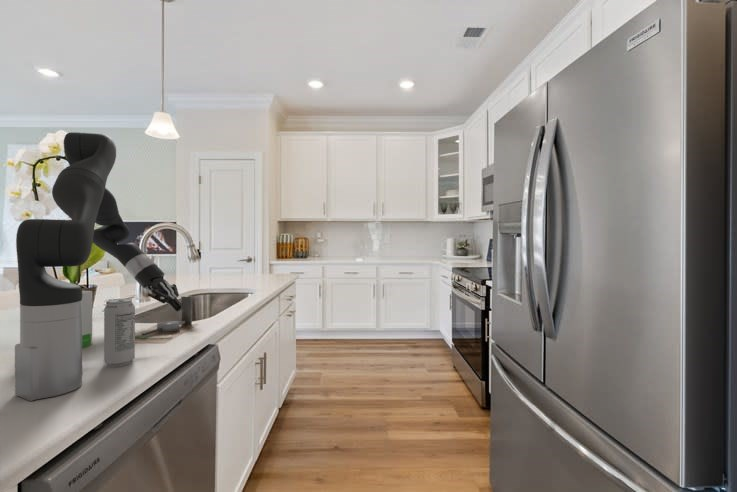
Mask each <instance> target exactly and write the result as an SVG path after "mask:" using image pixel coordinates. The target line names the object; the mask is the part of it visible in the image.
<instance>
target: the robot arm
mask: <svg viewBox="0 0 737 492" xmlns="http://www.w3.org/2000/svg"><path fill="white" fill-rule="evenodd" d="M63 151H64V154H65V158H66V160H67V163H68V165H67V166H66V167H65V168H63V169H62V170H61V171H60V172H59V174H58V175H57V177H56V180H55V181H54V184H53V186H52V188H51V195H52V198H53V201H54V202H55V204H56V206H57V207H58V208H59V209H60V210H61V211H62V212H63V213H64V214H65V215H66V216H67V217H68V218H70V219H47V218H45V219H43V218H42V219H41V218H30V219H29V218H28V219H25V220H23V221H22V222H21V223H20V224H19V225H18V227H17V230H16V240H15V245H16V246H15V247H16V248H15V249H16V259H17V260H16V261H17V272H18V273H17V274H18V290H19V343H17V344H15V345H14V395H15V396H18V397H20V398H23V399H26V400H27V401H29V402H30V401H31V402H32V401H36V400H39V399H46V398H51V397H57V396H60V395H64V394H66V393H70V392H73V391H74V390H77V389H78V388H80V387H81V386H82V385H83V375H84V374H83V347H82V291H83V289H82V287H81V286H80V285H78V284H75V283H71V282H68V281H63V280H60V279H58V278H56V277H54V276H52V275H50V274H49V273H48V272H47V270H46V268H63V267H64V268H65V267H66V268H67V267H70V268H71V267H78V266H82V265H84V264H85V263H87V261H88V260H89V257H90V255H91V251H92V247H93V244H94V245H95V246H96V247H98V248H99V249H101V250H102V251H104V252H106V253H107V254H109V255H111V256H112V257H113V258H115V259H117V261H118V262H120V264H122V266H123V267H124V268H125V269H126V271H127V272H128V274H129V275H130V276H132V278H133V279H134V280H135V281H136V282H137V283H138V284H139V285H140V286H141V287H142V289H148V290H149V292H148V293H147V296H148V297H150V298H152V299H154V300H156V301H158V302H159V303H162V304H167V305H170V306H171V308H173V310H175V311H176V312H181V301H180V300H178V297H179V296H180V294H179V291H178V287H177V284H175V283H173V284H170V283H169V282H168V281H167V280H166V279H164V277H165V272H164V271H163V270H162V269H161V268H160V267H159V266H158V265H157V264H156V263H155V262H154V261H153V260H152V258H150V257H149V256H148V255H146V253H145V252H144V251H143V250H142V249H141V248H140V247H139V246H138V245H137V244H136V243H134V242H128V243H123V244H122V242H125V241H127V240H128V239H129V237H130V236H131V232H130V229H129V227H128V226H127V225H126V223H125V222H124V220H123V219H122V217H121V215H120V212H119V208H118V204H117V201H116V200H117V199H116V198H115V196H114V194H113V193H112V192H111V190H109V188H107V187H106V186H107V180H108V177H109V175H110V173H111V171H112V169H113V167H114V165H115V163H116V158H117V147H116V143H115V142H114V140H113V139H112V138H111V136H109V135H107V134H102V133H92V132H76V131H75V132H72V131H71V132H67V133H66V134H65V135H64V139H63ZM96 225H98V226H100V227H97V228H95V227H96Z"/></svg>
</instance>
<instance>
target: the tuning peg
mask: <svg viewBox="0 0 737 492" xmlns="http://www.w3.org/2000/svg"><path fill="white" fill-rule="evenodd" d="M180 300H181V301H180V303H181V310H180V320H178V321H177V320H164V321H160V322H158V323H156V325H157V329H155V330H151V331H148V332H145V333H142V335H147V334H151V333H154V332H157V331H158V332H171V331H176V330H178V329H179V325H189V324H193V296H192V295H181V297H180Z"/></svg>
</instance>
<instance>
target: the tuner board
mask: <svg viewBox="0 0 737 492" xmlns="http://www.w3.org/2000/svg"><path fill="white" fill-rule="evenodd" d="M198 325H199V323H192V324H189V325H179V329H178V330H176V331H171V332H158V331H157V332H154V333H151V334H147V335H142V333H145V332H148V331H151V330H155V329H157V324H155V325H153V326H151V327H149V328H146V329H143V330H142V331H139V332H137V333H135V344H167V343H168V342H170V341H171V340H173V339H175V338H177V337H179V336H181V335H182V334H184V333H186V332H188V331H190V330H191V329H193V328H194V327H196V326H198Z"/></svg>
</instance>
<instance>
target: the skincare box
mask: <svg viewBox="0 0 737 492" xmlns="http://www.w3.org/2000/svg"><path fill="white" fill-rule="evenodd" d="M91 345H93V291H92V290H82V348H86V347H88V346H91Z"/></svg>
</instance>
